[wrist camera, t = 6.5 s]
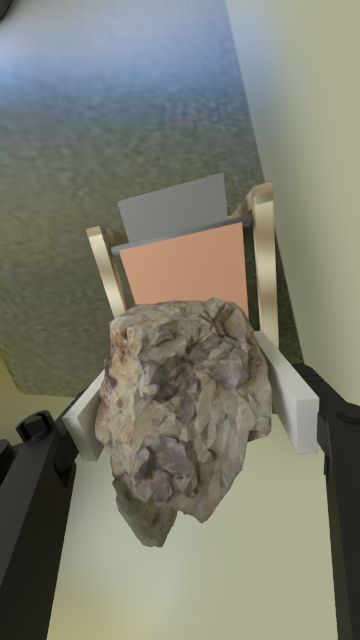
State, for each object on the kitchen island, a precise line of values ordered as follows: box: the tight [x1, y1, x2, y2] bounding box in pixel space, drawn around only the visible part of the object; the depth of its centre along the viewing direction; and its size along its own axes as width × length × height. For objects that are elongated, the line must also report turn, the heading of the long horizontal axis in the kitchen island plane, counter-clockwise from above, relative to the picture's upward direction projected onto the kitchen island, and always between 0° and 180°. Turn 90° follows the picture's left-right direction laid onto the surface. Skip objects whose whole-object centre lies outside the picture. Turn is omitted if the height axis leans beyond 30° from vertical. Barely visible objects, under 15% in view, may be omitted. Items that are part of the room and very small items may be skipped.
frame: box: [86, 182, 279, 350], centre depth 27 cm, size 20×18×15 cm
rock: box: [95, 297, 272, 547], centre depth 11 cm, size 9×12×10 cm
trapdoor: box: [111, 173, 251, 319], centre depth 21 cm, size 19×14×3 cm
